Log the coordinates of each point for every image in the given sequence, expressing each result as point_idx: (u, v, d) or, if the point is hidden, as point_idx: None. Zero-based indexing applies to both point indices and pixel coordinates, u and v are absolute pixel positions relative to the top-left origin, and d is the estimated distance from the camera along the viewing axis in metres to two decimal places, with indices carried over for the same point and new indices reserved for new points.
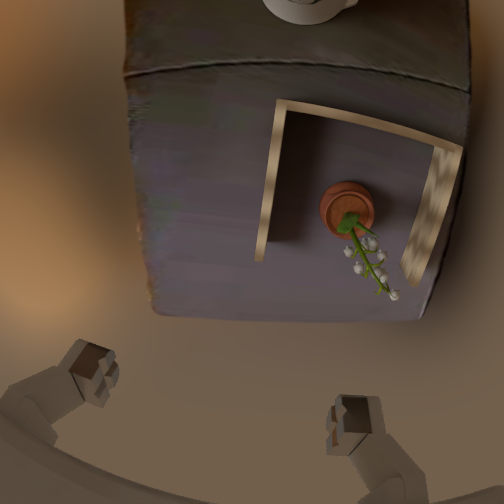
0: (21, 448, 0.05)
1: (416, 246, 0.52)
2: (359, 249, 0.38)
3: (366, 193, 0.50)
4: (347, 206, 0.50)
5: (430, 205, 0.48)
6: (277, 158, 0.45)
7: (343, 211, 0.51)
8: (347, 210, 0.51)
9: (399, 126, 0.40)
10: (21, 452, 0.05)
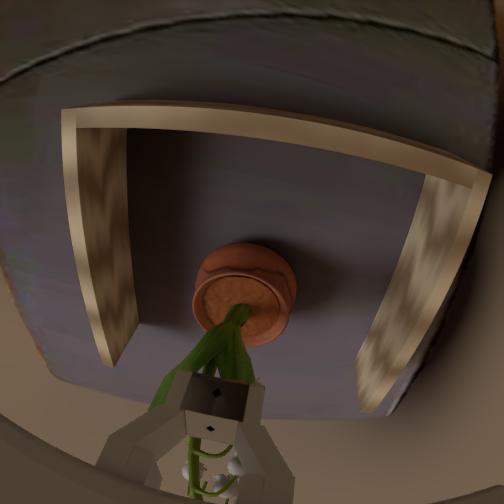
0: (21, 448, 0.05)
1: (378, 352, 0.29)
2: (190, 442, 0.16)
3: (275, 267, 0.27)
4: (235, 295, 0.27)
5: (411, 288, 0.25)
6: (80, 222, 0.22)
7: (230, 301, 0.28)
8: (236, 301, 0.28)
9: (330, 128, 0.17)
10: (21, 452, 0.05)
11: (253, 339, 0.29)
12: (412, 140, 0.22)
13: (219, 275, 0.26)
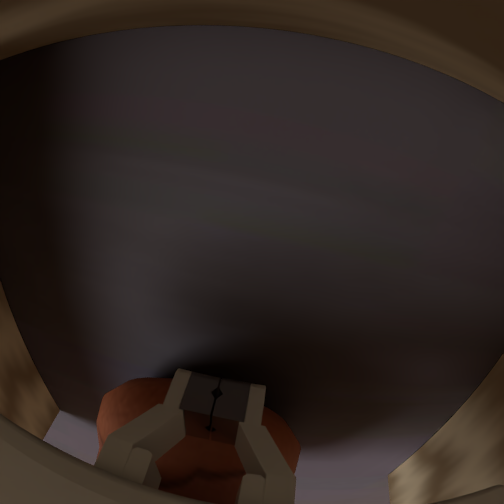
0: (21, 448, 0.05)
1: (438, 494, 0.11)
2: None
3: None
4: None
5: None
6: None
7: None
8: None
9: None
10: (21, 452, 0.05)
11: None
12: None
13: None
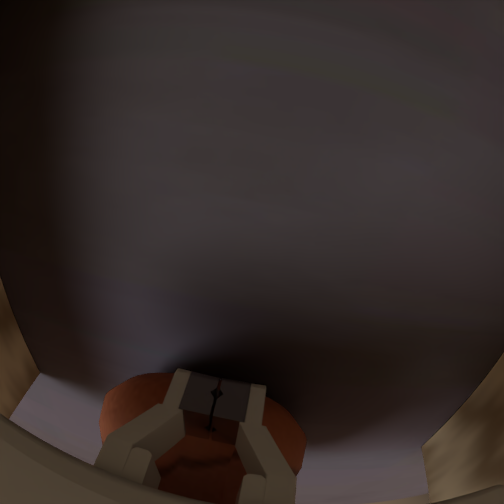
0: (21, 448, 0.05)
1: (493, 454, 0.09)
2: None
3: (227, 445, 0.09)
4: None
5: None
6: None
7: None
8: None
9: None
10: (21, 452, 0.05)
11: None
12: None
13: None
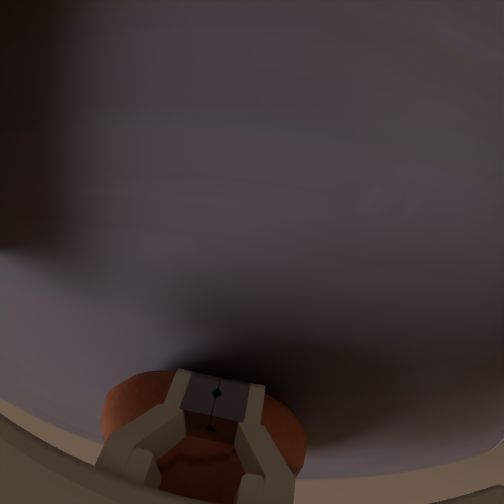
0: (21, 448, 0.05)
1: None
2: None
3: None
4: None
5: None
6: None
7: None
8: None
9: None
10: (21, 452, 0.05)
11: None
12: None
13: None
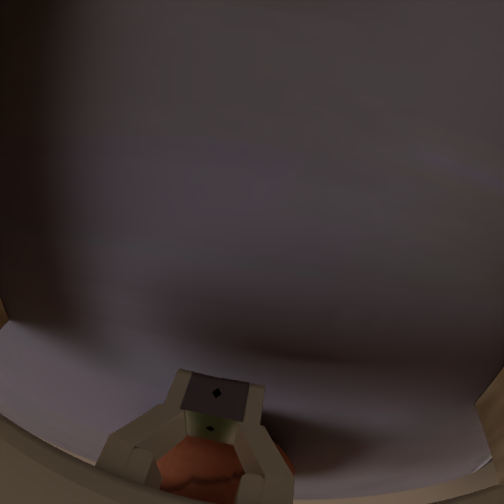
0: (21, 448, 0.05)
1: None
2: None
3: (228, 468, 0.11)
4: None
5: None
6: None
7: None
8: None
9: None
10: (21, 452, 0.05)
11: None
12: None
13: None
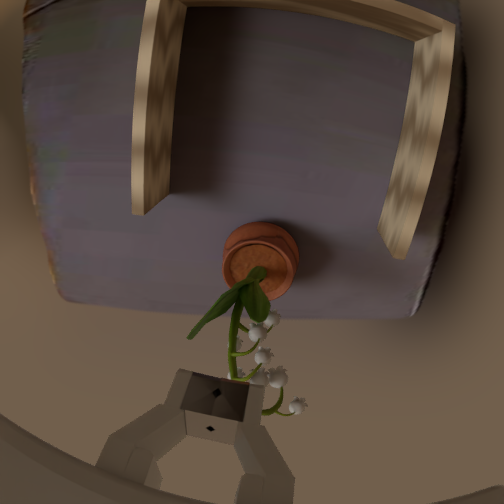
0: (21, 448, 0.05)
1: (400, 193, 0.32)
2: (228, 350, 0.26)
3: (274, 233, 0.37)
4: (251, 260, 0.38)
5: (417, 122, 0.28)
6: (150, 52, 0.25)
7: (249, 266, 0.38)
8: (253, 265, 0.38)
9: None
10: (21, 452, 0.05)
11: (274, 293, 0.39)
12: None
13: (235, 247, 0.36)
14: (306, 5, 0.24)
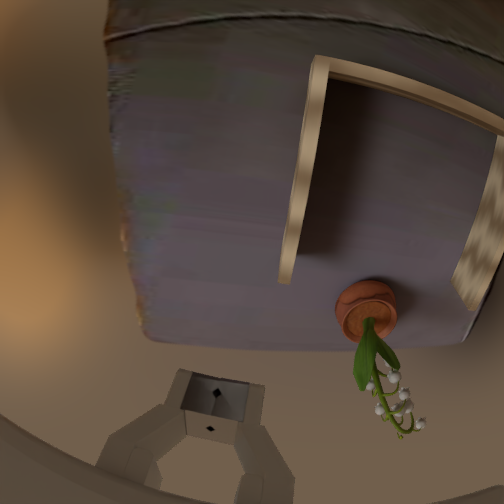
0: (21, 448, 0.05)
1: (476, 261, 0.37)
2: (378, 392, 0.31)
3: (383, 291, 0.43)
4: (365, 313, 0.43)
5: (496, 210, 0.33)
6: (316, 139, 0.30)
7: (362, 317, 0.44)
8: (366, 316, 0.43)
9: (473, 105, 0.25)
10: (21, 452, 0.05)
11: (378, 336, 0.45)
12: None
13: (357, 304, 0.42)
14: (434, 105, 0.30)
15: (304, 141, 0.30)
